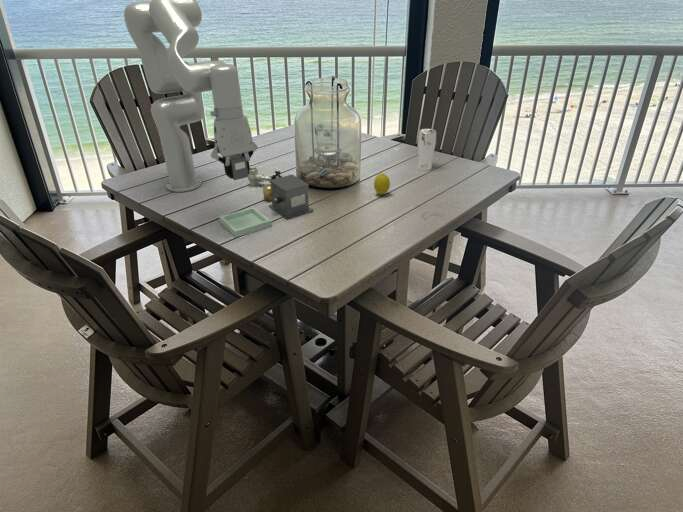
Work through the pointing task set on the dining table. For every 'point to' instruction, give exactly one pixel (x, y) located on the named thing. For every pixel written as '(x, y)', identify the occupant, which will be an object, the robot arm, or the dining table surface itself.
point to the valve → (259, 177)
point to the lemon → (381, 183)
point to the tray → (245, 221)
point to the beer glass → (426, 148)
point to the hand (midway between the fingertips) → (238, 174)
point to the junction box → (289, 196)
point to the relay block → (239, 166)
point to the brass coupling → (267, 193)
